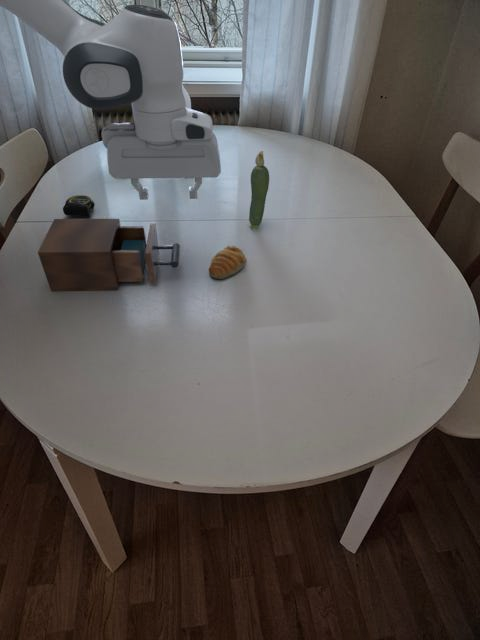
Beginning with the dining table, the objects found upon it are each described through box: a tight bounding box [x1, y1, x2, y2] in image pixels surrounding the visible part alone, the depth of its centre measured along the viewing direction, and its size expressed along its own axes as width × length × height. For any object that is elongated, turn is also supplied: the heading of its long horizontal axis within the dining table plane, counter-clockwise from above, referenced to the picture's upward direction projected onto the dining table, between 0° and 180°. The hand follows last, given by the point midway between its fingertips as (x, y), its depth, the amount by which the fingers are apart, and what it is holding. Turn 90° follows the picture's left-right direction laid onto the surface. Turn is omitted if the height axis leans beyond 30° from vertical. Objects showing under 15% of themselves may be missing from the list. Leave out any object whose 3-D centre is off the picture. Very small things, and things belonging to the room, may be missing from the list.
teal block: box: [121, 240, 146, 272], centre depth 91 cm, size 7×4×4 cm, turn 3°
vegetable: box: [248, 150, 270, 230], centre depth 102 cm, size 4×4×20 cm
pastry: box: [208, 245, 248, 280], centre depth 94 cm, size 9×7×4 cm
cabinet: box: [37, 218, 121, 292], centre depth 90 cm, size 14×13×10 cm
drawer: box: [111, 223, 181, 285], centre depth 91 cm, size 18×11×8 cm, turn 93°
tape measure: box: [62, 194, 95, 218], centre depth 111 cm, size 7×7×4 cm
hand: (169, 198), depth 83 cm, fingers open, 8 cm apart
